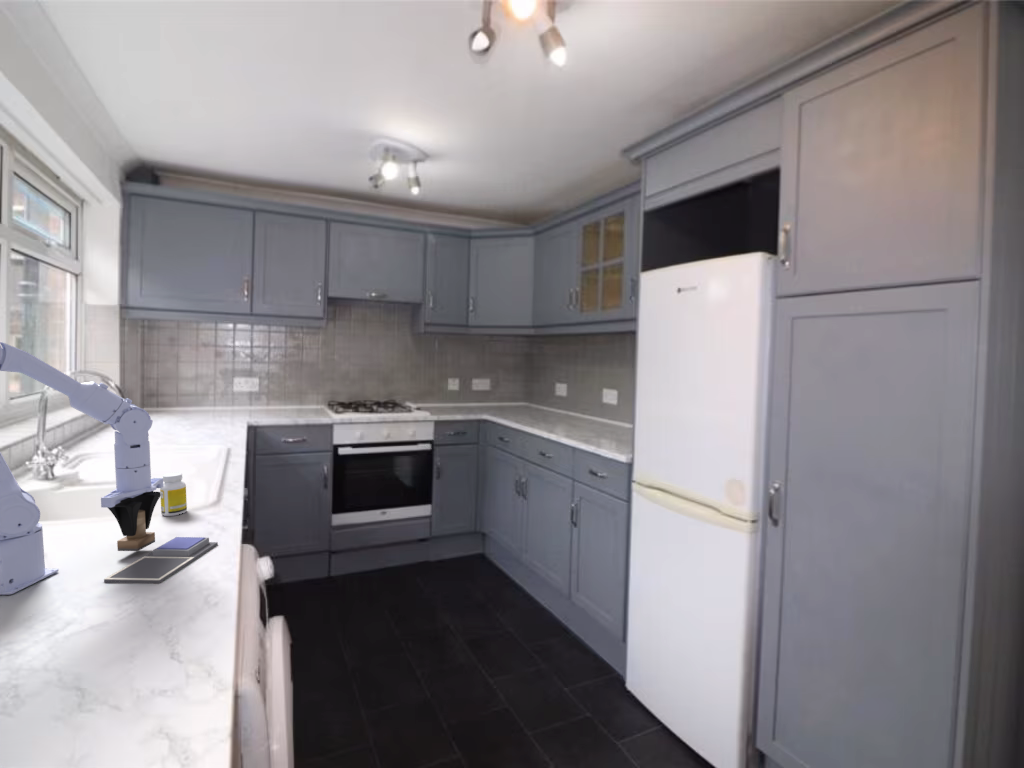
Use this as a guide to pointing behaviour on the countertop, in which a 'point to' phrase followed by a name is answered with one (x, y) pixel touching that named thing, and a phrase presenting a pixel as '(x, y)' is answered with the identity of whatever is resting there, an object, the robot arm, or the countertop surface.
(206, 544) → the stamp mat
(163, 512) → the supplement bottle
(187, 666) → the countertop surface
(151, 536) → the stamp
